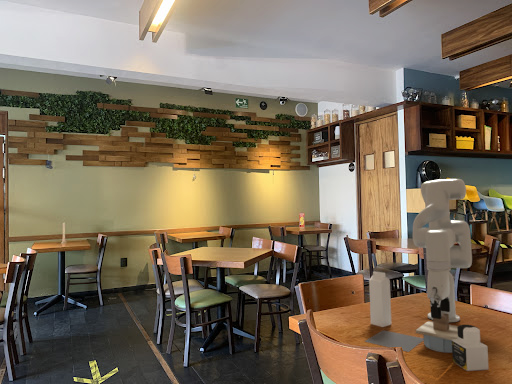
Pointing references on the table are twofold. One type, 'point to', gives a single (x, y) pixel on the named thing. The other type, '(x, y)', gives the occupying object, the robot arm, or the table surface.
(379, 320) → the milk
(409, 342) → the mat
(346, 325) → the table surface
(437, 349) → the bowl
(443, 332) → the lid
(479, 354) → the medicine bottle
